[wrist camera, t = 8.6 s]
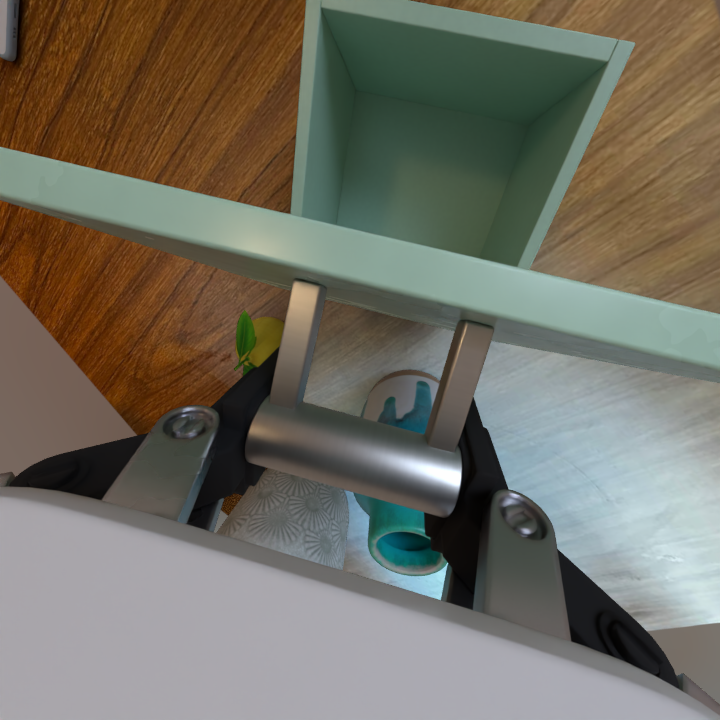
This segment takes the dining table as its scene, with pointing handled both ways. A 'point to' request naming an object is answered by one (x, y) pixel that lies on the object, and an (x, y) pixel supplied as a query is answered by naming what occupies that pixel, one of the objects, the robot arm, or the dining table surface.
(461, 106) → the green box
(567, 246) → the dining table surface
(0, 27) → the smartphone
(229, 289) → the dining table surface
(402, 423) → the vase
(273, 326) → the lemon
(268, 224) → the box lid
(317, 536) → the planter
